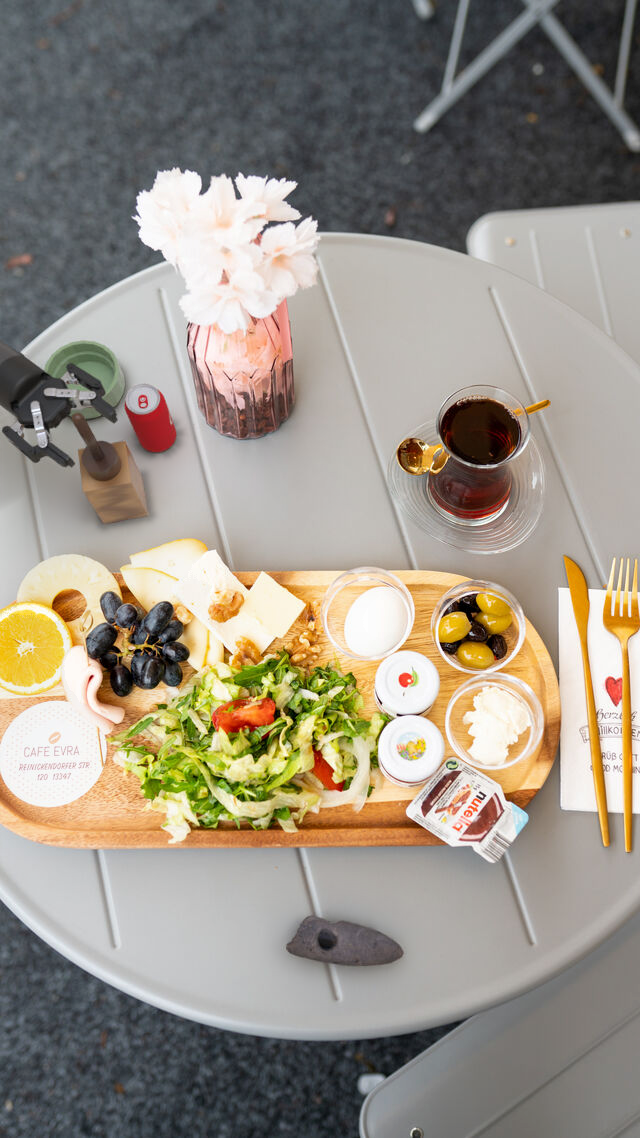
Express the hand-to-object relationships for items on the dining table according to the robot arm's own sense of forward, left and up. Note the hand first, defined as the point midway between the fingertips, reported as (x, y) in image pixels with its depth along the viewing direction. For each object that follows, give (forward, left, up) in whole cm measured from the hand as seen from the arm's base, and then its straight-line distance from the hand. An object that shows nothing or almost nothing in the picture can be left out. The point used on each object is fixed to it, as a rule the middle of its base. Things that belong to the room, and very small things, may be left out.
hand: (93, 441), depth 111 cm
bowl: (-4, +22, -21) cm, 31 cm away
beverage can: (+6, +11, -21) cm, 24 cm away
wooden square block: (-1, +1, -21) cm, 21 cm away
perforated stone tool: (+20, -69, -21) cm, 75 cm away
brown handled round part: (-1, +1, -9) cm, 9 cm away
